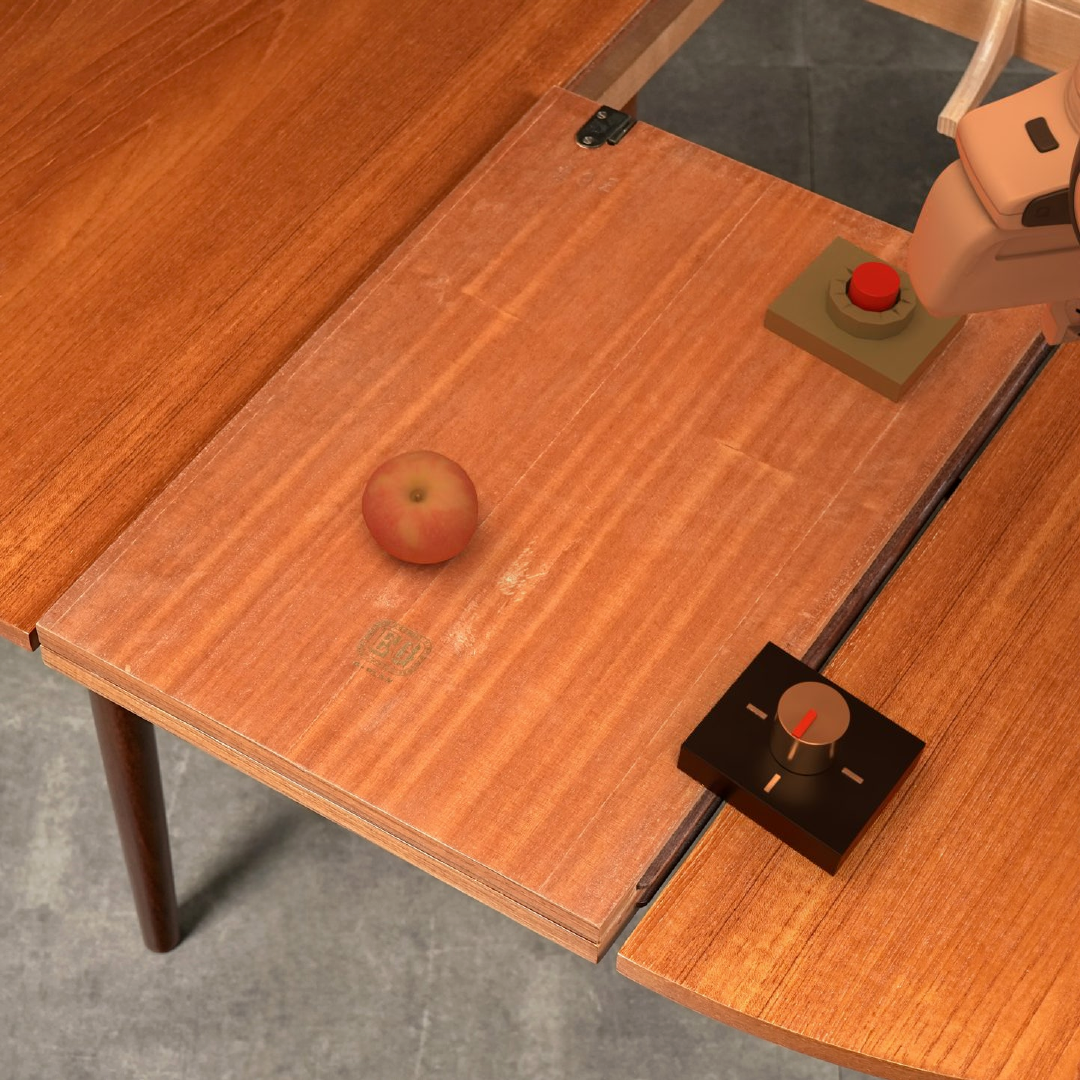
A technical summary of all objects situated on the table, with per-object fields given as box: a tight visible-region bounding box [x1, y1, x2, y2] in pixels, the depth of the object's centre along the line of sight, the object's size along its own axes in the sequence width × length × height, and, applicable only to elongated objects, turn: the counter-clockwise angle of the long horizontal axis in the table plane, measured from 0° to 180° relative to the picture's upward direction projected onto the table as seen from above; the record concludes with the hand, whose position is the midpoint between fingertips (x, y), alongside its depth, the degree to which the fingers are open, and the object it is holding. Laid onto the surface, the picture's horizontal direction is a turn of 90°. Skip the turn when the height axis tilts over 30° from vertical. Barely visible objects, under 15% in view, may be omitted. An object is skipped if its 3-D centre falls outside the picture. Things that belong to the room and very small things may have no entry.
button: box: [849, 262, 900, 312], centre depth 128 cm, size 4×4×2 cm
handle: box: [769, 682, 850, 775], centre depth 105 cm, size 4×4×4 cm
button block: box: [763, 235, 969, 404], centre depth 130 cm, size 12×10×4 cm
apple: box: [361, 449, 479, 565], centre depth 115 cm, size 8×8×8 cm
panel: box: [676, 640, 927, 877], centre depth 108 cm, size 12×10×3 cm
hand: (1069, 333), depth 92 cm, fingers closed
